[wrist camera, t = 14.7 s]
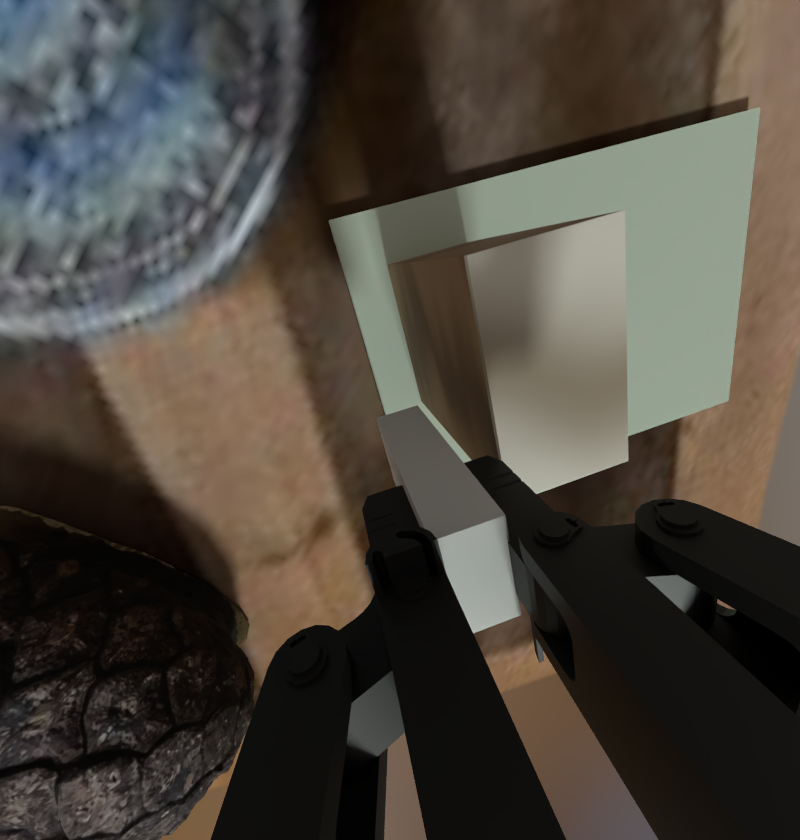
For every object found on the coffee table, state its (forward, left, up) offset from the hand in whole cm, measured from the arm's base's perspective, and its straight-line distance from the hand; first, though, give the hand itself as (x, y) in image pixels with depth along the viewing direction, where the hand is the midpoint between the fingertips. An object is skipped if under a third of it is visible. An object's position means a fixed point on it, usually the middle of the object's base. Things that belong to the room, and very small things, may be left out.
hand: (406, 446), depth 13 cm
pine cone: (+8, -18, -8) cm, 21 cm away
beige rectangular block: (-2, +4, -7) cm, 8 cm away
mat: (0, +11, -8) cm, 13 cm away
